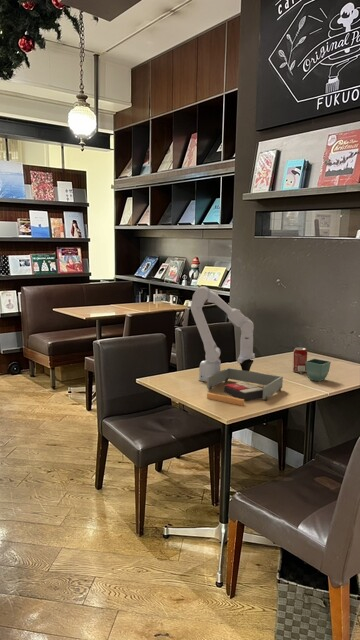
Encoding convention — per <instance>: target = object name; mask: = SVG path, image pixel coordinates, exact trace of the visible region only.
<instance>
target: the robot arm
mask: <svg viewBox="0 0 360 640" xmlns="http://www.w3.org/2000/svg"><path fill="white" fill-rule="evenodd" d="M206 301H207V303H212V304H215V305H216V307H218V308H220V310H222V311H224V312H225V313H226V314H227V319H228V320H229V321H230V322H231V323H232V324H234V325H235V326H236V327H237V328H240V334H241V335H240V340H239V341H240V343H239V344H240V346H239V347H240V348H239V349H240V350H239V356H238V358H237V361H236V362H237V363H238V364H239V365H240V367H241V370H245V371H250V370H251V367H252V365H253V364H254V359H255V358H256V356H255V355H256V353H254V350H253V349H254V336H253V335H254V329H255V328H254V322H253V321H252V319H249V317H248V316H245V315H244V314H243V313H242V312H241V310H240V309H237V308H233V307H231V306H230V305H228V303H227V302H225V300H223V299H222V298H221V297H220V296H219V295H218V294H217V293H216V292H215V291H213V290H210V288H209V287H208V286H204V285H203V286H200V287H198V288H197V289H196V290H195V291H194V293H193V294H192V299H191V302H190V303H191V304H190V310H191V311H190V312H191V315H192V317H193V319H194V323H195V325H196V327H197V330H198V333H199V336H200V338H201V341H202V343H203V349H204V352H205V355H204V356H205V360H202V361H201V362H200V364H199V366H198V367H199V370H198V371H199V373H198V374H199V375H198V381H200V382H205V383H207V377H209V376H211V375H213V374H215V373H218V372H220V371H221V365H222V363H221V361H222V360H221V359H220V356H221V353H222V352H221V349H220V347H218V346H217V343H216V342H215V340H214V338H213V336H212V333H211V331H210V328H209V325H208V322H207V320H206V317H205V314H204V311H203V306H204V305H205V302H206Z"/></svg>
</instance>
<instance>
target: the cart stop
mask: <svg viewBox="0 0 360 640" xmlns="http://www.w3.org/2000/svg"><path fill="white" fill-rule="evenodd" d="M206 399H210V400H214V401H219V402H224V403H230V404H234V405H239V406H244V405H245V401H244V399H239V398H237V397H234V396H229V395H223V394H218V393H213V392H207V393H206Z"/></svg>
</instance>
